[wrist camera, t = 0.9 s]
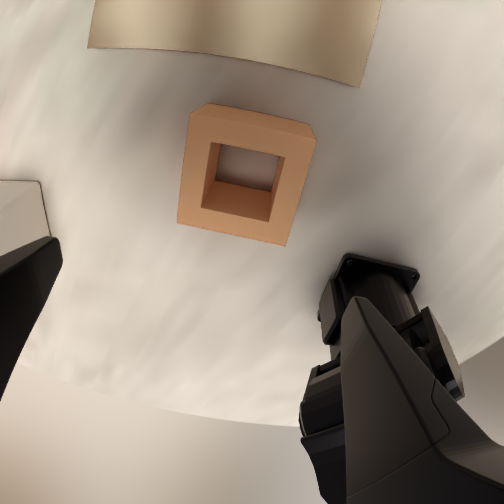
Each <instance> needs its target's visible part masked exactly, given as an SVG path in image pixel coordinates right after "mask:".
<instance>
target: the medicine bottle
mask: <svg viewBox="0 0 504 504" xmlns="http://www.w3.org/2000/svg"><path fill="white" fill-rule="evenodd" d="M45 236H50V233H49V229H48V225H47V220H46V215H45V211H44V206H43V200H42V195H41V189H40V184H39V183H38V182H32V181H0V256H2V255H4V254H6V253H8V252H10V251H13V250H15V249H17V248H19V247H21V246H24V245H26V244H28V243H31V242H33V241H35V240H38V239H40V238H42V237H45Z"/></svg>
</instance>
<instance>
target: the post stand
mask: <svg viewBox="0 0 504 504" xmlns="http://www.w3.org/2000/svg"><path fill="white" fill-rule="evenodd" d="M381 2H382V0H95V5H94V10H93V16H92V21H91V27H90V33H89V40H88V47H87V48H147V49H165V50H178V51H189V52H198V53H207V54H214V55H221V56H228V57H235V58H241V59H246V60H252V61H257V62H262V63H267V64H272V65H277V66H281V67H286V68H290V69H294V70H298V71H302V72H306V73H310V74H314V75H317V76H321V77H325V78H328V79H331V80H335V81H338V82H341V83H345V84H348V85H351V86H354V87H357V88H360V85H361V81H362V77H363V74H364V70H365V66H366V63H367V59H368V55H369V51H370V47H371V43H372V39H373V35H374V31H375V27H376V23H377V19H378V15H379V11H380V7H381Z"/></svg>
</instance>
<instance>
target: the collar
mask: <svg viewBox="0 0 504 504" xmlns="http://www.w3.org/2000/svg"><path fill="white" fill-rule="evenodd" d="M316 141H317V140H316V138H315V135H314V133H313V131H312V129H311V127H310V125H309V124H305V123H302V122H298V121H294V120H289V119H285V118H281V117H277V116H272V115H268V114H263V113H259V112H254V111H249V110H244V109H239V108H233V107H228V106H222V105H216V104H210V103H207V104H206V105H204V106H202V107H201V108H199V109H197V110H195V111H194V112H192V113H190V117H189V124H188V130H187V137H186V145H185V152H184V160H183V168H182V177H181V185H180V195H179V204H178V214H177V223H179V224H184V225H188V226H193V227H198V228H203V229H207V230H212V231H217V232H221V233H226V234H231V235H235V236H240V237H245V238H249V239H254V240H258V241H263V242H268V243H272V244H277V245H281V246H286V243H287V239H288V236H289V233H290V229H291V226H292V223H293V220H294V216H295V213H296V210H297V206H298V203H299V200H300V196H301V193H302V189H303V186H304V183H305V179H306V176H307V172H308V169H309V165H310V162H311V158H312V155H313V151H314V148H315V144H316ZM221 144H226V145H231V146H236V147H241V148H245V149H250V150H255V151H260V152H264V153H269V154H273V155H277V156H280V159H279V163H278V167H277V171H276V175H275V179H274V183H273V187H272V191H271V192H267V191H262V190H258V189H253V188H249V187H244V186H239V185H235V184H230V183H225V182H220V181H215V176H216V170H217V165H218V159H219V153H220V147H221Z"/></svg>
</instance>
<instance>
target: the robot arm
mask: <svg viewBox="0 0 504 504" xmlns="http://www.w3.org/2000/svg"><path fill="white" fill-rule="evenodd" d="M348 260H352V261H351V262H350V263H347V261H348ZM62 263H63V258H62V253H61V248H60V242H59V240H58V238H56V237H52V236H45V237H42V238H40V239H38V240H35V241H33V242H31V243H28V244H26V245H24V246H21V247H19V248H17V249H15V250H13V251H10V252H8V253H6V254H4V255H2V256H0V401H1V398H2V396H3V393H4V391H5V388H6V386H7V383H8V381H9V378H10V376H11V373H12V371H13V369H14V367H15V364H16V362H17V360H18V358H19V356H20V353H21V351H22V349H23V347H24V345H25V343H26V341H27V339H28V337H29V335H30V332H31V330H32V328H33V327H34V325H35V323H36V321H37V319H38V317H39V315H40V313H41V311H42V309H43V307H44V305H45V303H46V301H47V299H48V296H49V294H50V292H51V289H52V287H53V285H54V282H55V280H56V278H57V276H58V274H59V271H60V269H61V267H62ZM413 275H415V276H414V277H412V276H413ZM419 278H420V275H419V273H418V271H417V270H416V269H412V268H408V267H404V266H400V265H395V264H391V263H387V262H383V261H379V260H375V259H370V258H366V257H362V256H358V255H353V254H346V255H345V256H343V258H342V260H341V262H340V265H339V267H338V269H337V272H336V274H335V276H334V278H331V279H330V280H329V282H328V284H327V287H326V289H325V291H324V293H323V296H322V298H321V300H320V302H319V311H318V314H317V318H318V321H320V322H321V329H322V339H323V342H324V344H325V345H330V354H331V361H330V362H328V363H325V364H323V365H321V366H320V365H318V366H316V367H314V368H312V370H311V373H310V377H309V380H308V384H307V387H306V391H305V394H304V397H303V401H302V402H301V404H300V412H299V424H300V429H301V432H302V435H303V437H302V438H301V443H302V445H303V446H304V448H305V449H306V451H307V453H308V454H309V456H310V459H311V461H312V464H313V466H314V469H315V473H316V477H317V481H318V486H319V491H320V495H321V496H322V497H323V499H324V500H325V501H326V502H327V503H328V504H504V446H501V445H499V444H497V443H496V442H494V441H493V440H491V439H490V438H489V437H488V436H487V435H486V434H485V433H484V431H483V430H482V429H481V428H480V427H479V426H478V425H477V424H476V423H475V422H474V421H473V420H472V419H471V418H470V416H468V414H467V413H466V412H465V411H464V410H463V409H462V408H461V407H460V406H459V405H458V403H457V401H458V400H460V399H461V398H463V397H465V394H464V388H463V382H462V377H461V373H460V368H459V365H458V362H457V360H456V358H455V355H454V353H453V350H452V348H451V346H450V343H449V341H448V339H447V338H446V336H445V334H444V332H443V331H442V329H441V327H440V325H439V324H438V322H437V320H436V319H435V317H434V315H433V313H432V312H431V310H430V308H429V307H428V306H427V307H425V308H424V309H422V310H421V312H419V309H418V307H417V305H416V302H415V300H414V297H413V295H412V293H411V292H412V290H413V288H414V287H415V285H416V283H417V282H418V280H419Z"/></svg>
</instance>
